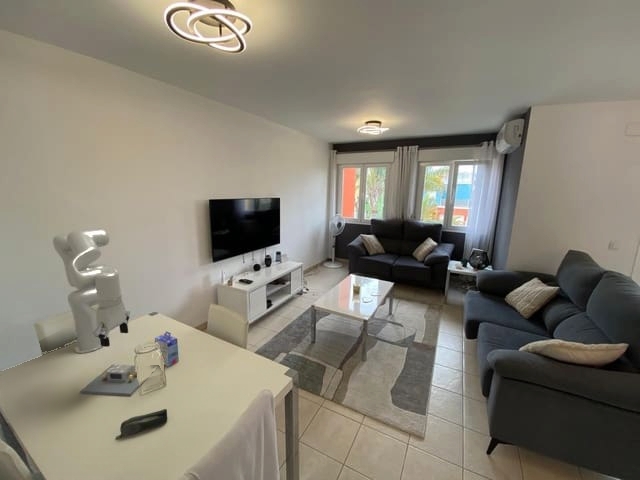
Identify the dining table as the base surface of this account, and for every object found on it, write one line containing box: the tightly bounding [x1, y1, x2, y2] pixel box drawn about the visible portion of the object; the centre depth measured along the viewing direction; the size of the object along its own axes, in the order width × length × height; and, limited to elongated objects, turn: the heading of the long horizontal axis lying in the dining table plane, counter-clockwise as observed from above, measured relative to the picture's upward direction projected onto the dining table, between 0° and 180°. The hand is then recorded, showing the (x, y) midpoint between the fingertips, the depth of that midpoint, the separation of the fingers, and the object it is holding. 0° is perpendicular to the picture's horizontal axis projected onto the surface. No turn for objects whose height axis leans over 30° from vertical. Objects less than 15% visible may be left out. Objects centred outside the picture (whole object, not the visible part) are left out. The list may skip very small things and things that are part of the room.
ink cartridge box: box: [154, 330, 180, 368], centre depth 125 cm, size 10×6×14 cm, turn 64°
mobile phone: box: [115, 408, 168, 439], centre depth 91 cm, size 5×3×15 cm
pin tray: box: [79, 363, 140, 397], centre depth 113 cm, size 16×21×4 cm
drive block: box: [106, 364, 134, 382], centre depth 112 cm, size 5×8×5 cm, turn 88°
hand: (115, 339), depth 109 cm, fingers open, 9 cm apart
